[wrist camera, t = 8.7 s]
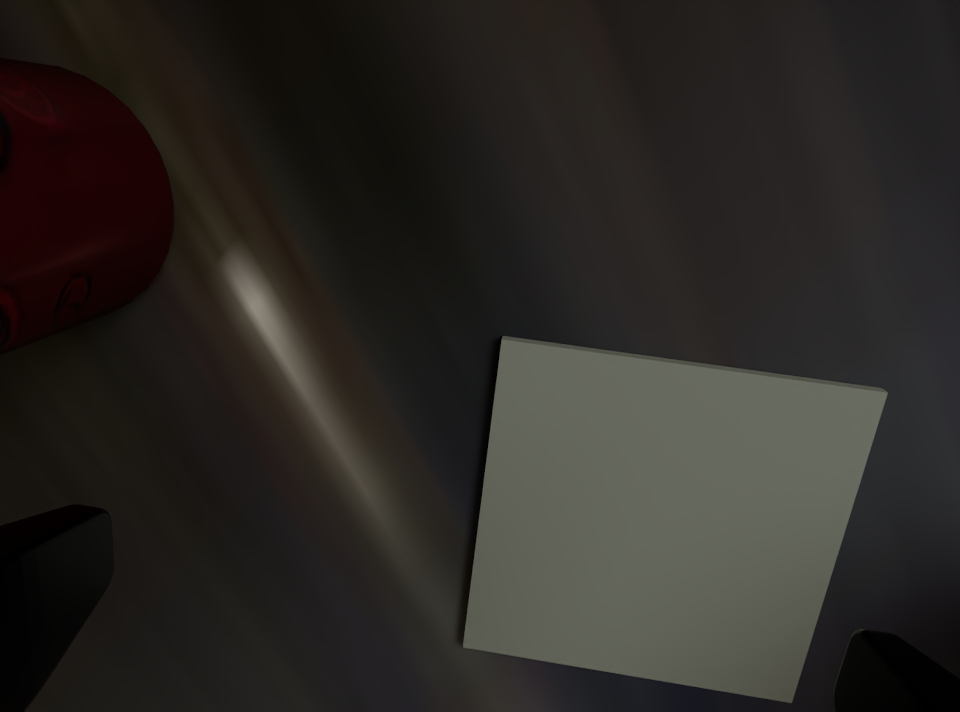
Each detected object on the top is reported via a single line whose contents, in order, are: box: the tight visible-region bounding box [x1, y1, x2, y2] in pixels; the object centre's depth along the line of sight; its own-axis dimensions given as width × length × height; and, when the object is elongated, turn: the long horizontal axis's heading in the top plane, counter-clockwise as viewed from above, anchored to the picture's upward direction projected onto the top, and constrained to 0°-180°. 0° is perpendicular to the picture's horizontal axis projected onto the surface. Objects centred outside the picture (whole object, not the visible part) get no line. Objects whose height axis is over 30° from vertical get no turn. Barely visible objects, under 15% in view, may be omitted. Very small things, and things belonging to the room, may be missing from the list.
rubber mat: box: [463, 336, 888, 703], centre depth 22 cm, size 11×11×1 cm
